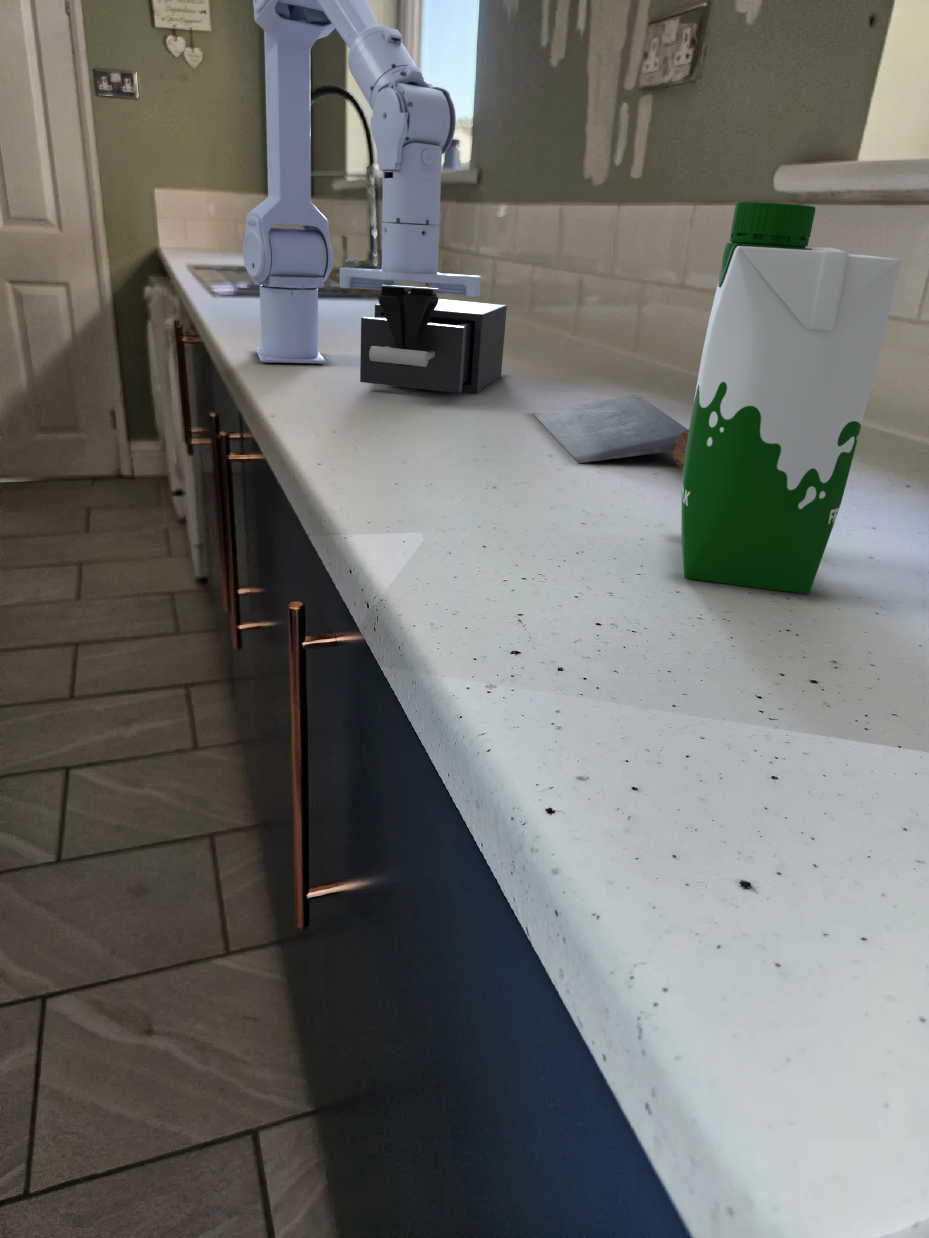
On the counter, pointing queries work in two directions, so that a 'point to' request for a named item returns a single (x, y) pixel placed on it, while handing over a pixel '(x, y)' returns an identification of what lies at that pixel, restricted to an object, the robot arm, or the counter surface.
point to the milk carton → (779, 399)
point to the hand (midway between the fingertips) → (407, 365)
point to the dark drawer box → (418, 355)
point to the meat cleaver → (616, 430)
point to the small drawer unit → (477, 337)
